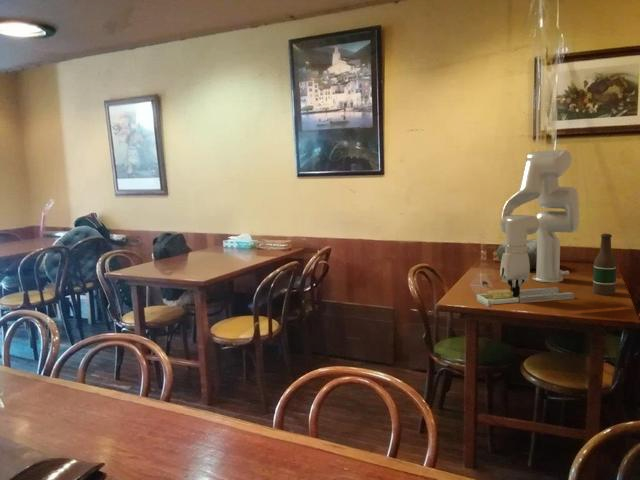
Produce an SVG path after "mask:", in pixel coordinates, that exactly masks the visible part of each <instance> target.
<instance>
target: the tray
mask: <svg viewBox="0 0 640 480" xmlns="http://www.w3.org/2000/svg"><path fill="white" fill-rule="evenodd" d="M475 300H476V301H477V302H478V303H480V304H482V305H484V306H486V307H488V308H491V307H493V306H492V305H500V304H502V305H503V304H513V303H520V302H519V298H512V299H500V300H488V293H478V294H477V293H476V294H475Z"/></svg>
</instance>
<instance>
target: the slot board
mask: <svg viewBox="0 0 640 480" xmlns="http://www.w3.org/2000/svg"><path fill="white" fill-rule="evenodd" d="M559 290H560V288H559V287H558V286H557V287H556V286H553V287H540V288H526V289H525V288H524V289H520V294H519V296H517V297H513V298H519V302H518V303H520V304H524V303H532V302H533V303H535V302H547V301H548V302H549V301H558V300H559V301H561V300H574V299H575V297H574V296H575V295H574V293H573V292H571V291H570V292H568V291H567V292H559Z"/></svg>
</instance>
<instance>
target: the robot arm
mask: <svg viewBox="0 0 640 480" xmlns="http://www.w3.org/2000/svg"><path fill="white" fill-rule="evenodd" d="M572 161H573V160H572V154H571V152H570V151H569V150H567V149H554V150H550V149H549V150H535V151H532V152H529V153H528V154H527V155H526V158H525V162H524V165H523V169H522V174H521V179H520V183H519V188H518V191H516V192H515V193H514V194H513V195H512V196H511V197H509V198H508V199H507V200H506V202H505V203H504V205H503V207H502V211H501V214H500V219H499V228H500V231H501V232H502V233H504V234H505V235H504V236H505V242H504V243H505V253H503V256H502V260H501V262H500V270H499V275H500V277H501V282H502V283H505V284H508V285H509V286H510V289H509V290H511V291H513V297H517V296H519V294H520V290H521V287H522V285H523V284H524V282H528V281H529V280H530V275H531V273H530V272H531V269H530V264H529V257H528V253H526V252H527V249H529V246H527V240H528V235H533V234H535V233H536V239H537V264H536V273H535V274H534V275H533V276H532V280H533V281H536V282H541V283H560V282H563V281H564V278H563V276H569V275H570V271H569V270H562V269H560V265H561V262H560V259H561V258H560V257H561V240H560V238H559V237H558V235H557V233H569V234H570V233H575V232H577V230H578V228H579V224H580V213H579V212H580V208H579V207H580V206H579V194H578V191H577V188H575V187H573V186H560V185H559V178H560V177H562V176H564V174H565V173H566V172H567V171H568V170H569V168H570V167H571V164H572ZM536 199H537V202H538V203H537V204H538V205H539V207H540V208H542V209H546V210H541V211H539V212H537V213H536V215H535V216H534V215H531V214H529V215H527V214H524V215H523V214H513V212H514V211H515V210H516V209H517V208H518V207H520V206H522V205H524V204H527V203H529V202H532V201H534V200H536ZM547 209H562V210H547Z"/></svg>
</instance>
